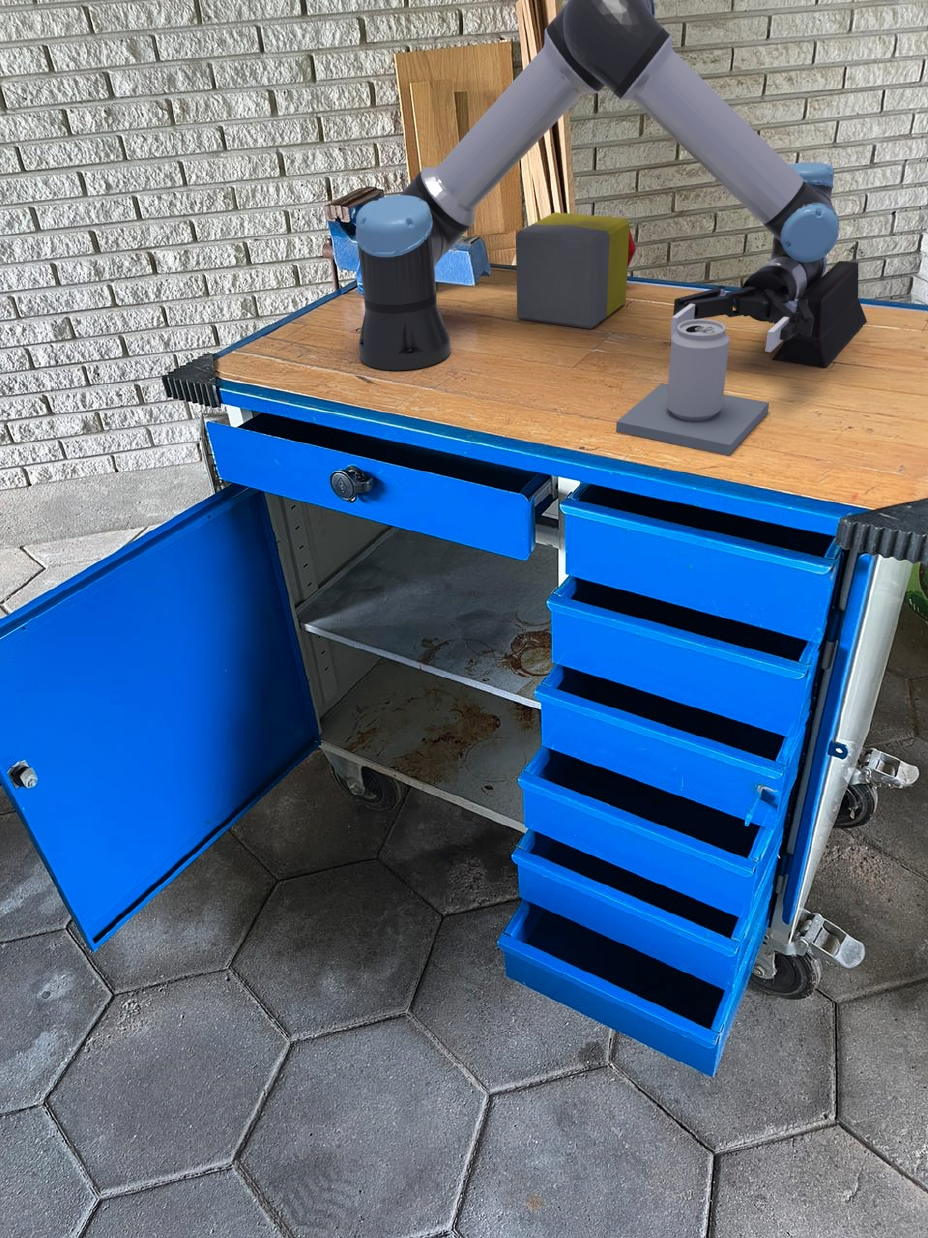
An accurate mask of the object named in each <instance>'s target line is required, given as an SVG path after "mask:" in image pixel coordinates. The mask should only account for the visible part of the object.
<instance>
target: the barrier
mask: <svg viewBox="0 0 928 1238" xmlns="http://www.w3.org/2000/svg"><path fill="white" fill-rule="evenodd" d="M803 296H805V297H808V302H807V305H808V307H809V309H810V311H811V313H812V315H813V317H814V321H813V328H812V334H811V336H810V337H804V336H802V334H801V333H797V336H793V337H792V338H790V339H789V340H787V341H786V340H783V341H784V342H783V343H781V346H780V347H779V349H778V350H777V351H776V353H775V354H774V355H773V357H772V358H771V361H775V362H780V361H781V363H787V364H793V363H794V364H795V365H799V364H800V366H805V367H812V368H813V367H814V368H818V369H825V370H826V369H827V368H828V367H829V366H830V365H831V364H832V363H833V361H834V360H836V358H837V357H838V356H839V355H838V354H840V353H842V351H843V350H844V349H845V348H846V347H847V345H849V344H850V342H851V341H852V340H853V338H854V337H855V336H856V335H857V334H858V333H859V332H860V331H861V329H862V328H863V327H864V326H865V325H866V324H867V323H868V320H867V318H866V315H865V312H864V310H863V307H862V305H861V302H860V299H859V262H854V261H845V260H839V261H837V262H836V263H835V264H834V265H833V266H832V267H831V268H829V270H828V271H826V273H824V274H823V276H822V277H821V278H820V279H819V280H818V281H817V282H816V283H815V284H814V285H813V286H812V287H811V288H810V289H808V290H807V291H806V292H805V293H804V294H803V295H802V297H803ZM863 325H864V326H863Z"/></svg>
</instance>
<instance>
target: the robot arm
mask: <svg viewBox="0 0 928 1238" xmlns="http://www.w3.org/2000/svg"><path fill="white" fill-rule="evenodd" d="M655 14H656V9H655V2H654V0H567V3H566V4H565V5H564V7H562V9H561V10H560V11H559V12H558V13H557V15H556V16H555V17H554V18H553V19H552V21H550V23H549V24H548V25H547V26H546V28H545V29H544V44H543V47H542V48H541V49H540V51H538V53H537V54H536V55H535V56H534V58H532V60H531V61H530V62H529V63H528V65H526V66H525V68H524V69H523V70H521V72H520V73H519V74H518V76H517V77H516V78H515V79H513V81H512V82H511V83H510V84H509V85H508V87H507V88H506V89H505V90H504V91H503V92H502V93H501V95H500V96H499V97H498V98H497V99H496V101H494V103H492V105H491V106H490V107H489V108H488V110H486V111H485V112H484V114H483V115H482V116H481V117H480V118H479V120H477V122H476V123H475V124H474V125H473V127H471V129H470V130H469V131H468V132H467V133H466V134H465V136H463V137H462V139H461V140H460V141H459V142H458V143H457V144H456V146H455V147H453V149H452V150H451V151H450V152H449V153H448V155H447V156H446V157H445V158H444V159H443V160H442V161H441V163H440V164H439V165H438V166H436V167H435V166H434V167H432V166H431V167H430V166H425V167H423V168H422V169H421V170H420V171H419V173H418V174H417V175H416V176H415V177H414V178H413V179H412V180H411V182H410V183H409V184H408V185H407V186H406V187H405V189H404V190H403V191H402V192H401V193H400V194H399V195H398V194H397V195H396V194H395V195H389V196H384V197H380V198H378V199H377V200H372V201H369V202H368V203H365V204H364V205H363V206H362V207H361V208H360V209H359V210H358V211H357V215H356V216H355V217H356V218H355V219H356V220H355V224H356V226H355V227H356V228H355V239H356V243H357V250H358V259H359V266H360V275H361V285H362V294H363V300H364V316H363V319H362V320H363V321H362V326H361V330H360V337H359V340H358V352H359V353H358V354H359V358H360V361H361V362H362V363H363V364H364V365H365V366H369V367H370V368H374V369H379V370H385V371H407V370H408V371H409V370H416V369H417V370H418V369H423V368H426V367H430V366H433V365H436V364H439V363H440V362H442V361H444V360H445V359H447V358H448V357H449V356H450V355H451V352H452V351H451V339H450V334H449V333H448V332H447V328H446V325H445V323H444V320H443V318H442V314H441V312H440V310H439V307H438V303H437V301H438V300H437V298H438V297H437V286H436V285H437V284H436V282H437V281H436V271H435V270H436V269H435V267H436V265H437V264H438V262H439V261H440V260H441V259H442V258H443V257H444V255H446V254H447V253H448V252H449V251H450V250H451V249H452V248H453V246H454V245H455V244H456V243H457V241H458V240H459V239H460V238H462V237H463V235H464V234H465V233H466V232H467V231H468V230H469V229H470V228H471V227H472V226H473V225H474V223H475V221H476V216H475V215H476V212H475V211H476V210H475V209H476V208H477V207H478V205H480V203H482V202H483V200H484V199H485V198H486V197H487V196H488V195H489V194H490V193H491V192H492V191H493V190H494V188H495V187H496V186H497V185H498V184H500V182H501V181H502V180H503V179H504V178H505V177H506V176H507V175H508V174H509V173H510V171H511V170H513V168H515V166H516V165H517V164H519V162H520V161H521V160H523V158H524V157H525V156H526V154H528V152H530V150H531V149H532V148H533V147H534V146H535V145H536V144H537V143H538V142H539V140H541V139H542V138H543V137H544V136H545V134H546V133H547V132H549V130H550V129H551V128H552V127H553V126H554V125H555V124H556V123H557V122H558V120H559V119H560V118H562V116H563V115H564V114H565V113H566V112H567V111H568V110H569V109H570V108H571V107H572V106H573V105H574V103H576V101H577V100H579V98H580V97H582V95H584V94H598V93H599V92H600V91H601V90H602V89H603V88H604V87H606V88H607V89H609V91H611V92H612V93H613V94H614V95H615V96H616V97H617V98H619V100H620V101H621V102H623V101H634V103H636V104H637V105H638V107H640V108H641V109H642V110H643V112H644V113H646V114H647V115H648V116H649V117H650V118H651V119H652V120H653V121H655V123H657V124H658V125H659V126H660V127H661V128H662V129H663V130H664V131H665V132H666V133H667V134H668V135H669V136H670V137H671V138H672V139H673V140H675V142H677V143H678V145H680V146H681V147H682V148H683V149H684V151H686V152H687V153H688V154H689V155H690V156H691V157H692V158H693V159H694V160H695V161H696V162H697V163H699V164H700V165H701V167H702V168H704V169H705V170H706V171H707V172H708V173H709V174H710V175H711V176H712V177H713V178H714V179H716V180H717V181H718V183H720V185H721V186H723V187H724V188H725V189H726V190H727V191H728V192H729V193H730V194H731V195H733V197H734V198H736V199H737V201H738V202H740V203H741V204H742V205H743V207H745V209H747V210H748V211H749V212H750V213H751V214H752V215H753V216H754V217H755V218H756V219H758V220H759V221H760V222H761V224H762V225H764V226H765V228H766V229H767V230H768V231H769V232H770V233H771V234H772V235H773V238H772V239H773V240H772V241H773V242H772V246H771V247H772V248H771V254H770V255H771V256H770V260H769V261H768V262H766V263H765V264H764V265H762V266H761V267H760V268H759V269H757V270H756V271H755V272H753V273H752V274H751V275H750V276H748V277H747V278H746V280H745V282H744V283H743V284H742V286H741V288H739V289H736V290H731V291H726V290H725V289H726V286H725V285H722V284H721V285H718V286H716V287H714V288H712V289H707V290H703V291H700V292H697V293H693V294H688V295H685V296H681V297H678V298H674V302H673V316H672V317H671V323H670V324H671V326H670V337H672V335H673V334H674V333H675V332H677V331H678V330H677V326H678V325H679V324H680V323H681V322H684V321H687V320H693V319H708V318H713V317H719V316H727V317H728V318H734V317H740V316H743V317H750V318H751V319H753V320H755V321H758V322H761V323H762V322H763V323H766V322H767V323H769V324H774V325H773V326H772V327H771V328H770V329H768V331H767V334H766V342H765V348H764V349H765V350H764V352H768V353H771V352H772V351H773V350H775V349H776V347H778V346H779V345H780V344H782V342H783V341H785V340H786V341H787V340H789V339H790V338H792V337H793V336H797V333H801V334H802V336H804V337H810V336H811V334H812V328H813V321H814V317H813V315H812V313H811V311H810V309H809V307H808V305H807V302H808V297H805V296H803V297H802V295H803V294H804V293H805V292H806V291H807V290H808V289H810V288H811V287H812V286H813V285H814V284H815V283H816V282H817V281H818V280H819V279H820V278H821V277H822V276H824V275H825V272H826V270H827V265H828V264H827V262H828V261H827V255H829V253H830V252H831V251H832V250H833V248H834V247H835V246H836V243H837V241H838V238H839V232H840V231H839V230H840V229H839V228H840V219H839V217H838V214H837V213H836V211H835V209H834V206H833V204H832V203H833V202H832V192H833V190H834V188H835V187H834V186H835V185H834V177H835V170H834V168H833V167H832V166H831V165H830V164H827V163H824V162H816V161H815V162H814V161H809V162H808V161H807V162H805V161H803V162H796V163H791V164H788V162H787V161H786V160H784V158H782V157H781V155H779V153H777V152H776V150H775V149H774V148H772V147H771V146H770V145H769V144H768V143H767V141H766V140H764V139H763V138H762V137H761V136H760V135H759V134H758V133H757V132H756V131H755V130H754V129H753V128H752V127H751V126H750V125H749V124H748V123H747V122H746V121H745V120H744V118H742V117H741V115H739V114H738V112H736V111H735V110H734V109H733V108H732V107H731V106H730V105H729V104H728V103H727V102H726V101H725V100H724V99H723V98H722V97H721V96H720V95H719V94H718V93H717V92H716V91H715V90H714V89H713V88H712V87H711V86H710V85H709V84H708V83H707V82H706V81H705V80H704V79H703V78H702V77H701V76H699V75H698V73H696V71H695V70H693V68H692V67H691V66H689V64H688V63H687V62H685V60H683V58H681V56H680V55H678V53H677V52H676V51H674V49H673V36H672V35H671V34H670V33H669V32H668V31H667V30H666V29H665V28H664V27H663V26H662V25H661V24H660V22H659V21H658V20H657V19H656V18H655V17H656V15H655ZM733 309H734V310H733Z"/></svg>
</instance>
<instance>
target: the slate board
mask: <svg viewBox="0 0 928 1238" xmlns="http://www.w3.org/2000/svg"><path fill="white" fill-rule="evenodd" d="M667 391H668V383H663V382H661V383H660V384H659V385H657V387H655V388H654V389H653V390H652V391H651V392H649V393H648V394H647V395H645V397H643V398H642V399H641V400H640V401H639V402H638V403H637V404H635V405H634V406H633V407H632V408H631V409H630V410H628V411H627V412H626V413H625V414H624V415H622V416H621V417H620V418H619V419H618V420H617V421H616V426H615V427H616V429H615V432H616V433H620V434H624V435H625V434H626V435H629V436H630V435H631V436H634V437H640V438H644V439H649V440H653V441H657V442H662V443H668V444H672V445H676V446H680V447H686V448H691V449H695V450H701V451H705V452H709V453H714V454H719V455H724V456H731V454H732V453H733V452H734V451H735V450H736V449H737V447H739V445H740V444H741V443H742V442H743V441H744V440H745V439H746V437H747V436H749V434H750V433H751V432H752V431H753V430H754V428H756V426H758V424H759V423H760V422H761V421H762V420H763V419H764V418H765V416H766V415H767V414H768V413H769V407H770V402H768V401H763V400H756V399H751V398H746V397H740V396H737V395H736V396H735V395H729V394H725V393H724V394H723V403H722V409H721V410H720V411H719V412H718V413H716V414H715V415H714V416H713V417H711V418H709V419H705V420H697V421H695V420H685V419H681V418H678V417H676V416H675V415H673V413H672V412H671V411H670V410H668V408H667V407H666V404H667Z"/></svg>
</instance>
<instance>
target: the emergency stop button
mask: <svg viewBox="0 0 928 1238" xmlns="http://www.w3.org/2000/svg"><path fill="white" fill-rule="evenodd" d="M635 244H636V243H635V242H634V238H633V236H632V232H631V229H630V222H629V220H628V219H627V218H625V217H617V216H615V217H614V216H610V215H608V216H605V215H604V216H603V215H593V214H579V213H566V212H556V211H555V212H553V213H551V214H549V215H547V216H545V217H544V218H541V219H540V220H538V221H536V222H534V223H532V224H530V225H528V226H527V227H524V228H522V229H521V230H519V231H518V232H517V233H516V234H515V260H516V261H515V263H516V265H515V266H516V267H515V269H516V271H515V272H516V311H517V312H516V313H517V314H516V315H517V316H518V318H519V319H520V320H521V321H522V320H524V321H530V322H537V323H545V324H552V325H557V326H558V325H559V326H567V327H573V328H580V329H587V330H592V329H593V328H594V327H596V326H597V325H598V324H599V323H601V322H603V321H604V320H605V319H606V318H608V317H609V316H611V315H612V314H613V313H614V312H616V311H617V310H618V309H619V308H621V307H622V306H623V305H624V304H625V303H627V285H628V284H627V283H628V282H627V281H628V269H629V266H630V264H631V263H632V260H633V258H634V255H635V253H636V251H637V248H636V245H635Z"/></svg>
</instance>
